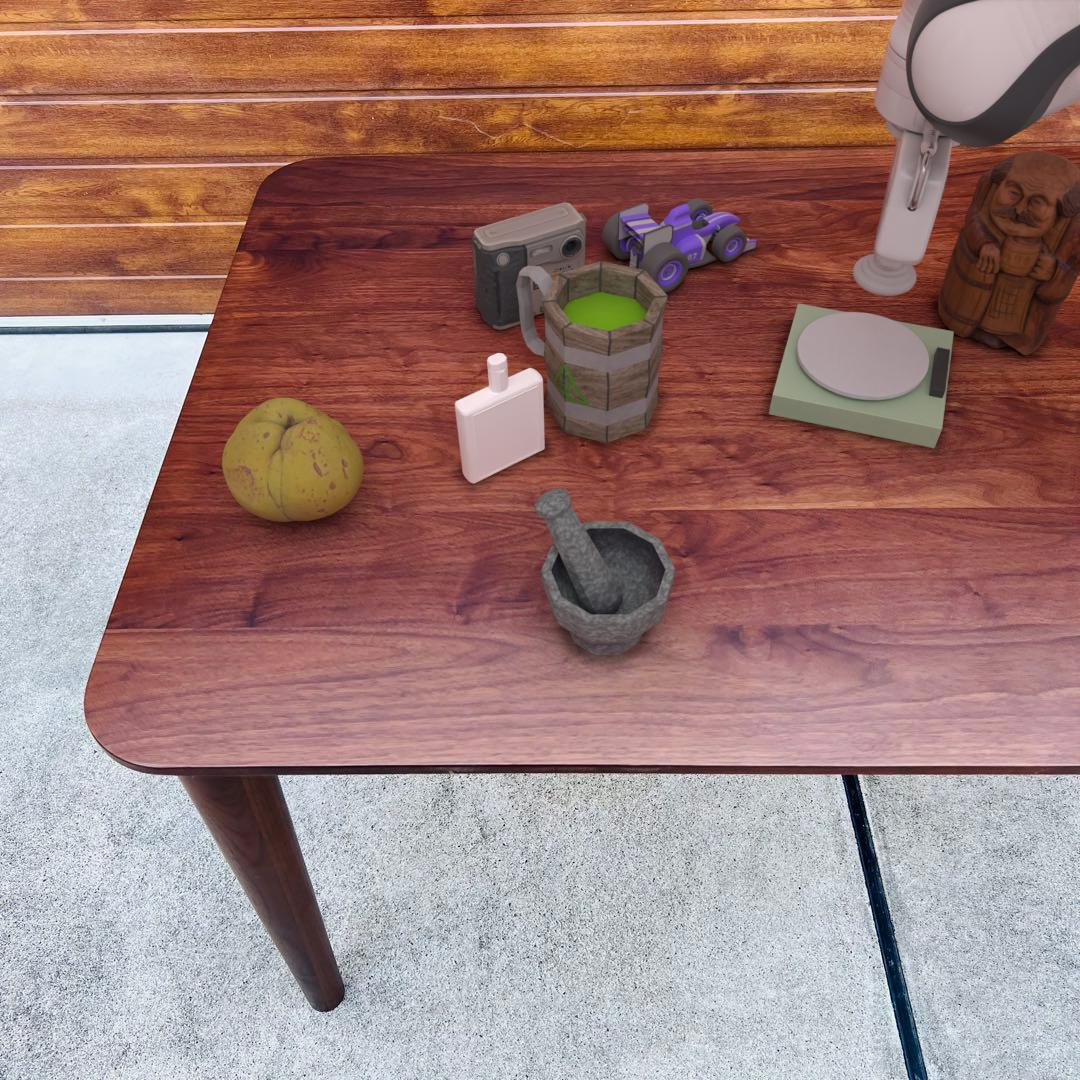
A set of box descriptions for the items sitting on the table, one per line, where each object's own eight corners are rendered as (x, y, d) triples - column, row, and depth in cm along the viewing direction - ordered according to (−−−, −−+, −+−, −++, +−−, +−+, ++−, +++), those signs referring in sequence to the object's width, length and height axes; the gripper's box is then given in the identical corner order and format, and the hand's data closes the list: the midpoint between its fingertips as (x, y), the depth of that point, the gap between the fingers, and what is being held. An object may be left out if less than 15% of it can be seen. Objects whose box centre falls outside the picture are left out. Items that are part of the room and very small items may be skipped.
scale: (946, 351, 99) (957, 322, 96) (934, 448, 91) (945, 420, 88) (793, 323, 102) (799, 294, 99) (768, 414, 94) (774, 385, 91)
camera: (491, 336, 102) (484, 252, 94) (470, 304, 105) (462, 220, 98) (592, 305, 105) (594, 221, 97) (568, 275, 108) (568, 191, 100)
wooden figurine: (917, 322, 102) (973, 156, 88) (942, 290, 105) (999, 125, 91) (1034, 366, 97) (1111, 199, 83) (1056, 331, 100) (1134, 165, 86)
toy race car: (764, 255, 109) (773, 202, 104) (649, 301, 105) (653, 247, 100) (711, 213, 115) (718, 160, 110) (600, 255, 110) (602, 202, 105)
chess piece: (912, 263, 89) (941, 169, 82) (917, 300, 85) (948, 206, 78) (850, 258, 89) (874, 165, 82) (853, 296, 86) (878, 201, 79)
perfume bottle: (472, 486, 89) (460, 384, 80) (460, 473, 90) (448, 370, 81) (547, 449, 92) (545, 346, 82) (535, 436, 93) (531, 333, 83)
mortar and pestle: (690, 613, 80) (706, 514, 70) (625, 696, 75) (632, 602, 66) (574, 549, 84) (575, 448, 75) (506, 624, 80) (497, 526, 70)
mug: (682, 399, 95) (694, 295, 86) (608, 460, 91) (612, 357, 81) (559, 329, 102) (558, 226, 93) (484, 382, 98) (475, 279, 88)
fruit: (264, 574, 83) (232, 493, 76) (224, 482, 90) (191, 399, 82) (388, 524, 86) (370, 442, 79) (341, 439, 93) (320, 356, 85)
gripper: (976, 164, 67) (920, 329, 78) (992, 30, 79) (942, 188, 90) (879, 150, 69) (838, 314, 79) (909, 21, 81) (870, 178, 91)
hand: (893, 246), depth 85 cm, fingers closed on chess piece, 3 cm apart
